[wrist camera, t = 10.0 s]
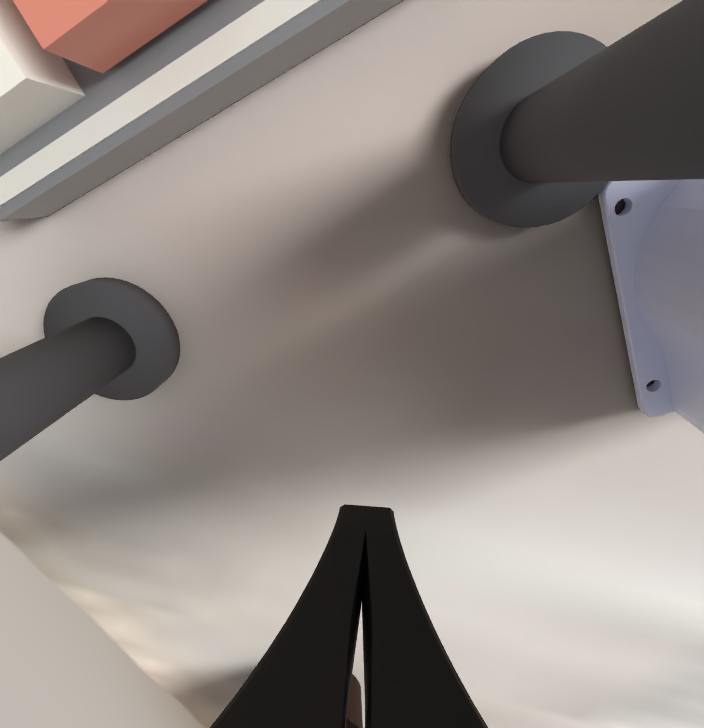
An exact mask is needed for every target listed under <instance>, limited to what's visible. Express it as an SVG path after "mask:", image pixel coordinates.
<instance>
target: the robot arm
mask: <svg viewBox="0 0 704 728" xmlns="http://www.w3.org/2000/svg"><path fill="white" fill-rule="evenodd" d="M621 199H624V201H625V208H624V210H623V211H622V212H621V213H620V214H618V215H616V213H615V205H616V204H617V202H618V201H620V200H621ZM599 204H600V209H601V214H602V219H603V225H604V230H605V235H606V240H607V246H608V251H609V256H610V261H611V267H612V272H613V277H614V282H615V287H616V293H617V298H618V303H619V308H620V314H621V319H622V324H623V329H624V335H625V340H626V345H627V350H628V356H629V361H630V366H631V371H632V377H633V382H634V387H635V392H636V398H637V403H638V407H639V409H640V410H641V411H642V412H643V413H644V414H646V415H647V416H651V417H655V416H660V415H663V414H667V413H670V412H674V411H675V412H677V413H678V414H679V415H681V416H682V417H683V418H685V419H686V420H687V421H688V422H690V423H691V424H692V425H694V426H695V427H696V428H698V429H699V430H700V431H701V432H703V433H704V179H685V180H643V181H608V183H607V184H606V185H605V186H604V188H603V189H602V190H601V191H600V192H599ZM652 380H654V383H653V384H652V385H651V386H649V387H646V386H647V384H648V383H649V382H650V381H652ZM361 603H362V620H363V652H364V682H365V728H488V727H487V725H486V723H485V722H484V720H483V718H482V717H481V715H480V713H479V712H478V710H477V708H476V707H475V705H474V703H473V702H472V700H471V698H470V696H469V694H468V693H467V691H466V689H465V687H464V685H463V683H462V682H461V680H460V678H459V676H458V674H457V672H456V671H455V669H454V667H453V665H452V663H451V661H450V659H449V657H448V655H447V653H446V651H445V649H444V647H443V645H442V643H441V641H440V639H439V637H438V635H437V633H436V631H435V629H434V626H433V624H432V622H431V620H430V617H429V615H428V613H427V611H426V609H425V606H424V604H423V602H422V599H421V597H420V594H419V592H418V590H417V587H416V584H415V582H414V579H413V577H412V574H411V571H410V569H409V566H408V563H407V561H406V558H405V555H404V552H403V548H402V545H401V542H400V539H399V535H398V531H397V528H396V523H395V518H394V512H393V511H392V510H391V509H390V508H385V507H371V506H358V505H343V506H342V507H340V510H339V514H338V518H337V521H336V524H335V526H334V529H333V532H332V534H331V537H330V539H329V541H328V544H327V546H326V548H325V550H324V552H323V554H322V557H321V559H320V561H319V563H318V565H317V567H316V569H315V571H314V573H313V575H312V577H311V579H310V581H309V582H308V584H307V586H306V588H305V590H304V591H303V593H302V595H301V597H300V598H299V600H298V602H297V604H296V606H295V607H294V609H293V611H292V612H291V614H290V616H289V617H288V619H287V621H286V622H285V624H284V626H283V627H282V629H281V630H280V632H279V633H278V635H277V636H276V638H275V640H274V641H273V643H272V644H271V646H270V647H269V649H268V650H267V652H266V653H265V655H264V656H263V657H262V659H261V660H260V662H259V663H258V665H257V666H256V667H255V669H254V670H253V672H252V673H251V674H250V676H249V677H248V679H247V680H246V682H245V683H244V684H243V686H242V687H241V688H240V690H239V691H238V692H237V694H236V695H235V696H234V698H233V699H232V700H231V702H230V703H229V704H228V706H227V707H226V708H225V709H224V711H223V712H222V713H221V714H220V716H219V717H218V718H217V719H216V721H215V722H214V723H213V724H212V726H211V727H210V728H346V719H347V709H348V700H349V692H350V685H351V677H352V670H353V662H354V655H355V648H356V640H357V633H358V625H359V618H360V610H361Z"/></svg>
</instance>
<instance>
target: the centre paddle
mask: <svg viewBox="0 0 704 728" xmlns="http://www.w3.org/2000/svg"><path fill="white" fill-rule="evenodd" d="M206 1H208V0H13V2H14V3H15V5H16V6H17V8H18V10H19V11H20V13H21V14H22V16H23V18H24V19H25V21H26V23H27V24H28V26H29V27H30V29H31V31H32V32H33V34H34V35H35V37H36V39H37V40H38V42H39V44H40V45H41V47H42V48H43V50H46V51H48V52H50V53H53V54H55V55H58V56H60V57H63V58H65V59H68V60H70V61H73V62H75V63H78V64H80V65H83V66H85V67H88V68H90V69H93V70H95V71H98V72H100V73H104V72H106V71H107V70H109V69H110V68H111V67H113V66H114V65H116V64H117V63H119V62H120V61H121V60H123V59H124V58H126V57H127V56H129V55H130V54H132V53H133V52H134V51H136V50H137V49H139V48H140V47H142V46H143V45H144V44H146V43H147V42H149V41H150V40H152V39H153V38H155V37H156V36H157V35H159V34H160V33H162V32H163V31H165V30H166V29H167V28H169V27H170V26H172V25H173V24H175V23H176V22H178V21H179V20H180V19H182V18H183V17H185V16H186V15H188V14H189V13H190V12H192V11H193V10H195V9H196V8H198V7H199V6H201V5H202V4H203V3H205V2H206Z"/></svg>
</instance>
